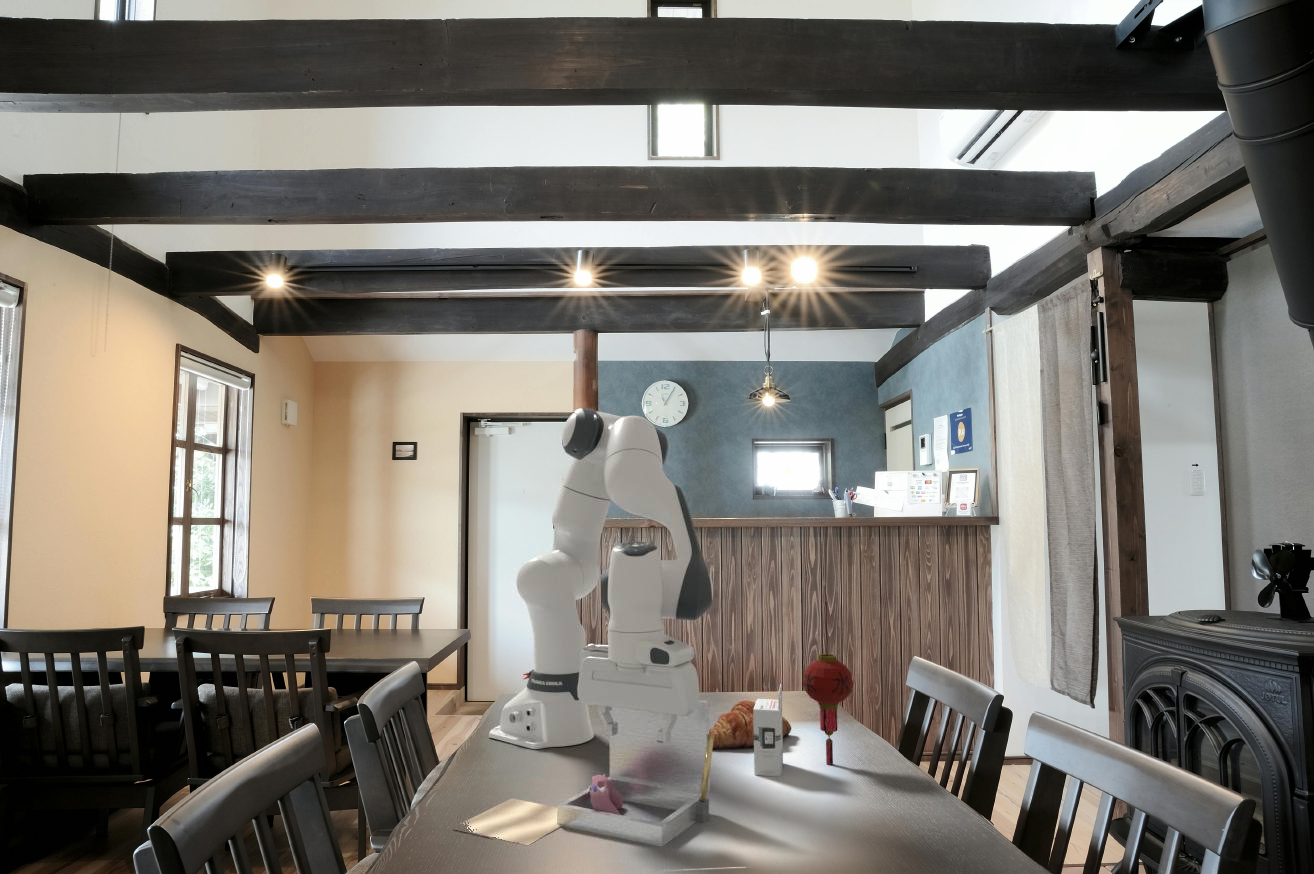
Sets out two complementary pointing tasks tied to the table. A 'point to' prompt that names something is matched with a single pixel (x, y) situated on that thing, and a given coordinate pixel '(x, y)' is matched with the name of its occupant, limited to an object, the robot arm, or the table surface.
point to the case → (651, 777)
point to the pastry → (739, 727)
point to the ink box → (768, 736)
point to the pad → (516, 821)
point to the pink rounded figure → (605, 795)
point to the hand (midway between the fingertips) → (637, 738)
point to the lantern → (828, 690)
